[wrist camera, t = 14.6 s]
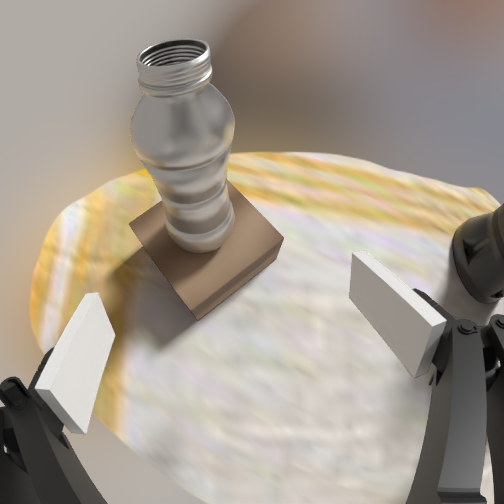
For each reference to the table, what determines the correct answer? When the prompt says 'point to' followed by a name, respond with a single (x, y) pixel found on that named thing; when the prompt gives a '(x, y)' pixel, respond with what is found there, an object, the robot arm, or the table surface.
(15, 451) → the robot arm
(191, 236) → the plastic bottle
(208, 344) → the table surface
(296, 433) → the table surface
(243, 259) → the walnut block
